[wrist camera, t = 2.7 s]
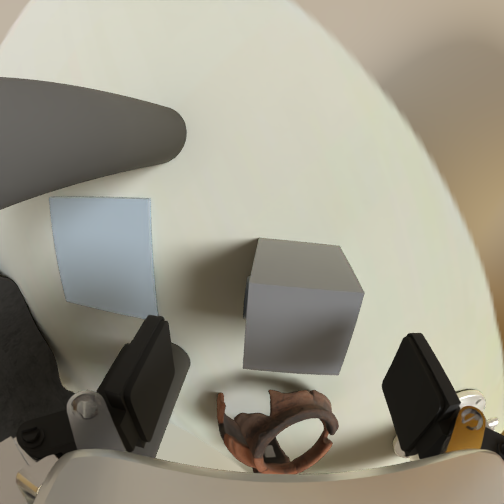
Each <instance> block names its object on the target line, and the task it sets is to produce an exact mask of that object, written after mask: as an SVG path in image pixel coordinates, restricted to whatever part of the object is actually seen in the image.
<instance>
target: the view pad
mask: <svg viewBox="0 0 504 504" xmlns="http://www.w3.org/2000/svg"><path fill="white" fill-rule="evenodd" d="M49 203H50V214H51V222H52V230H53V237H54V244H55V250H56V256H57V261H58V266H59V271H60V276H61V281H62V285H63V290H64V294H65V298H66V301H67V302H71V303H75V304H79V305H83V306H87V307H91V308H95V309H99V310H104V311H108V312H113V313H117V314H122V315H127V316H132V317H137V318H142V319H146V318H147V316H148V315H155V316H158V310H157V300H156V290H155V279H154V267H153V252H152V234H151V202H150V198H127V197H50V198H49Z"/></svg>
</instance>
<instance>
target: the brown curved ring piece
mask: <svg viewBox="0 0 504 504" xmlns="http://www.w3.org/2000/svg"><path fill="white" fill-rule="evenodd" d="M268 392H269V394H270V407H271V409H270V416H266V415H264V414H261V413H251V414H247V413H240V414H238V415H237V416H236V417H235V418H234V420H232V419H231V418H229V417H228V416H226V414H225V413H224V412H225V407H226V405H225V403H224V395H223V393H219V394H218V398H217V419H218V423H219V431H220V435H221V437H222V439H223V441H224V444H225V446H226V447H227V449H228V450H229V451H230V452H231V453H232V455H233V456H234V457H235V458H236V459H237V460H239V461H240V462H242V463H244V464H245V465H247V466H250V467H253V473H261V474H297V473H300V472H303V471H304V470H306V469H308V468H309V467H311V466H312V465H314V464H315V463H316V462H318V461H319V460H320V459H321V458H322V457H323V456H324V455H325V454H326V453H327V452H328V451H329V449H330V448H331V446H332V444H333V443H332V441H330V440H329V439H328V438H327V436H328V434H330V435H334V434H335V432H336V431H337V429H338V427H339V425H338V421H337V419H336V417H335V415H334V414H333V413H332V409H331V403H330V401H329V400H328V398H327V397H326V396H325V395H323V394H322V393H319V392H317V391H316V390H311V391H310V392H309V391H307V390H301V391H297V392H292V393H281V392H279V391H275V390H269V391H268ZM310 418H319V419H320V420H321V421H322V423H323V425H324V430H323V432H322V434H321V436H320V438H319V439H318V441H317V442H316V443H315V444H314V445H313V446H312V448H310V449H309V450H308V451H307V452H305V453H304V454H303V455H301V456H300V457H298V458H296V459H294V460H293V461H292V462H289V457H288V456H286V455H285V453H284V451H283V450H282V449H281V448H280V446H279V443H278V441H277V440H276V436H277V435H278V434H279V433H280V432H281V431H283V430H284V429H285V428H287V427H288V426H291V425H292V424H295V423H297V422H300V421H302V420H305V419H310Z"/></svg>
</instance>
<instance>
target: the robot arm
mask: <svg viewBox="0 0 504 504" xmlns="http://www.w3.org/2000/svg"><path fill="white" fill-rule="evenodd" d="M174 375H175V367H174V361H173V354H172V347H171V339H170V331H169V323H168V321H164V318H163V317H162V316H155V315H148V316H147V318H146V319H145V321H144V322H143V324H142V326H141V327H140V329H139V330H138V332H137V334H136V335H135V337H134V339H133V340H132V342H131V344H125V345H124V347H123V348H122V350H121V351H120V353H119V355H118V356H117V358H116V359H115V361H114V363H113V364H112V366H111V368H110V369H109V371H108V373H107V374H106V376H105V378H104V380H103V381H102V383H101V385H100V386H99V388H98V390H97V392H94V391H89V390H85V391H80V392H78V393H76V394H74V395H73V396H72V397H71V398H70V399H69V401H68V403H67V409H66V410H62V411H59V412H56V413H52V414H49V415H46V416H42V417H39V418H35V419H31V420H28V421H26V422H24V423H22V424H21V425H20V427H19V428H18V430H17V434H16V437H15V438H12V437H11V436H10V437H9V438H7V439H5V440H4V441H2V442H0V504H504V436H503V435H501V434H499V433H497V432H495V431H494V427H495V426H497V424H498V418H497V417H494V418H491V419H488V420H486V418H485V416H484V414H483V411H484V409H485V405H486V400H485V398H484V396H483V394H482V393H481V392H480V391H477V390H467V391H462V392H459V393H456V392H455V390H454V388H453V386H452V384H451V382H450V381H449V379H448V377H447V375H446V373H445V372H444V370H443V368H442V366H441V364H440V363H439V361H438V359H437V358H436V356H435V354H434V352H433V351H432V349H431V347H430V346H429V344H428V342H427V341H426V339H425V337H424V336H423V334H422V333H409V334H408V335H407V336H406V337H404V338H403V340H402V342H401V344H400V346H399V349H398V351H397V353H396V355H395V357H394V360H393V362H392V364H391V366H390V368H389V370H388V372H387V374H386V376H385V378H384V380H383V382H382V390H383V393H384V396H385V399H386V402H387V405H388V408H389V411H390V414H391V417H392V421H393V424H394V427H395V431H396V434H397V435H396V437H395V438H394V441H393V447H394V452H395V453H396V455H398V456H400V457H403V458H410V461H411V462H406V463H401V464H396V465H391V466H385V467H379V468H373V469H366V470H358V471H348V472H338V473H323V474H261V473H246V472H235V471H225V470H218V469H210V468H204V467H197V466H191V465H186V464H180V463H175V462H170V461H165V460H161V459H157V458H152V457H147V456H143V455H138V454H134V453H132V451H134V449H135V446H137V447H141V448H144V447H145V444H146V442H148V443H149V442H150V441H151V440H152V437H153V434H154V431H155V428H156V425H157V423H158V420H159V417H160V414H161V411H162V409H163V406H164V403H165V400H166V398H167V395H168V392H169V389H170V387H171V384H172V381H173V378H174ZM41 485H42V486H41ZM40 486H41V487H40ZM39 487H40V489H39V492H38V494H37V490H38V488H39Z"/></svg>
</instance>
